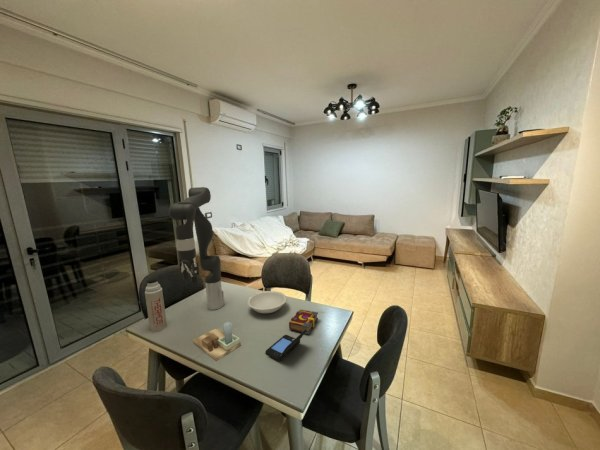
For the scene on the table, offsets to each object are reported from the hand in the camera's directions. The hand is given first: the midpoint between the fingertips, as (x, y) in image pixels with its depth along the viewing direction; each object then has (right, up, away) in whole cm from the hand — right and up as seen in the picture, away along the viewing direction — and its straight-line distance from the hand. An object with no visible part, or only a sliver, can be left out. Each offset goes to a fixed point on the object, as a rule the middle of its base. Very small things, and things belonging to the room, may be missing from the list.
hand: (190, 281), depth 113 cm
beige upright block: (+8, -31, +3) cm, 32 cm away
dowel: (+17, -30, +3) cm, 35 cm away
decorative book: (+54, -28, +20) cm, 64 cm away
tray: (+17, -30, +3) cm, 35 cm away
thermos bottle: (-26, -30, +19) cm, 44 cm away
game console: (+45, -32, 0) cm, 55 cm away
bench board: (+11, -31, +5) cm, 34 cm away
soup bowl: (+31, -26, +37) cm, 55 cm away
